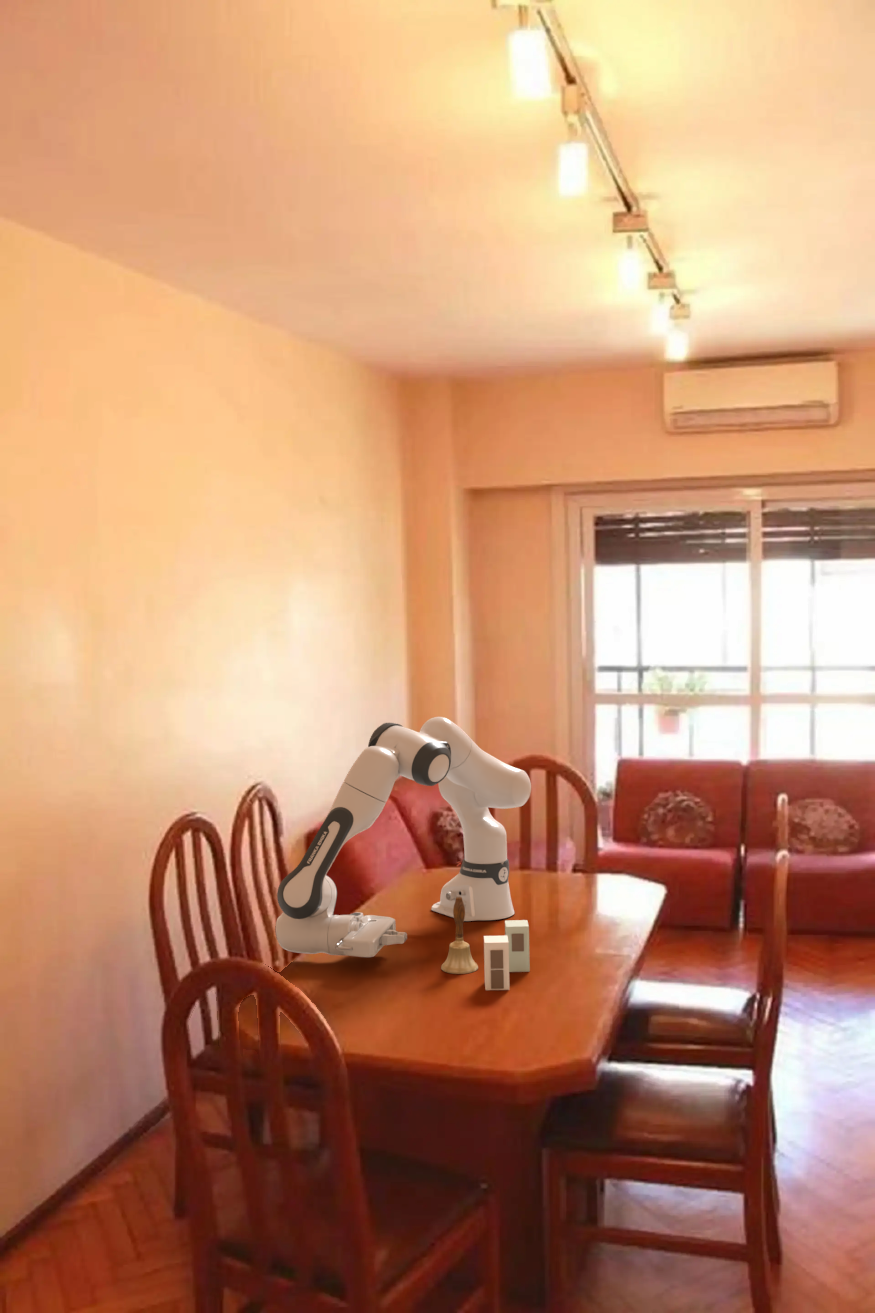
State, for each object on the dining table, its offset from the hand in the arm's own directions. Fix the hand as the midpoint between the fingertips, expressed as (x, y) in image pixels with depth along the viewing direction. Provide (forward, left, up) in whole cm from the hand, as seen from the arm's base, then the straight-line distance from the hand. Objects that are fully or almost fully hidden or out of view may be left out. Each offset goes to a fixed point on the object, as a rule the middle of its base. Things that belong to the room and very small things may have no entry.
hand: (405, 938), depth 255 cm
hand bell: (+10, +6, -7) cm, 14 cm away
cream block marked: (+24, +2, -6) cm, 25 cm away
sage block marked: (+20, +14, -6) cm, 26 cm away
